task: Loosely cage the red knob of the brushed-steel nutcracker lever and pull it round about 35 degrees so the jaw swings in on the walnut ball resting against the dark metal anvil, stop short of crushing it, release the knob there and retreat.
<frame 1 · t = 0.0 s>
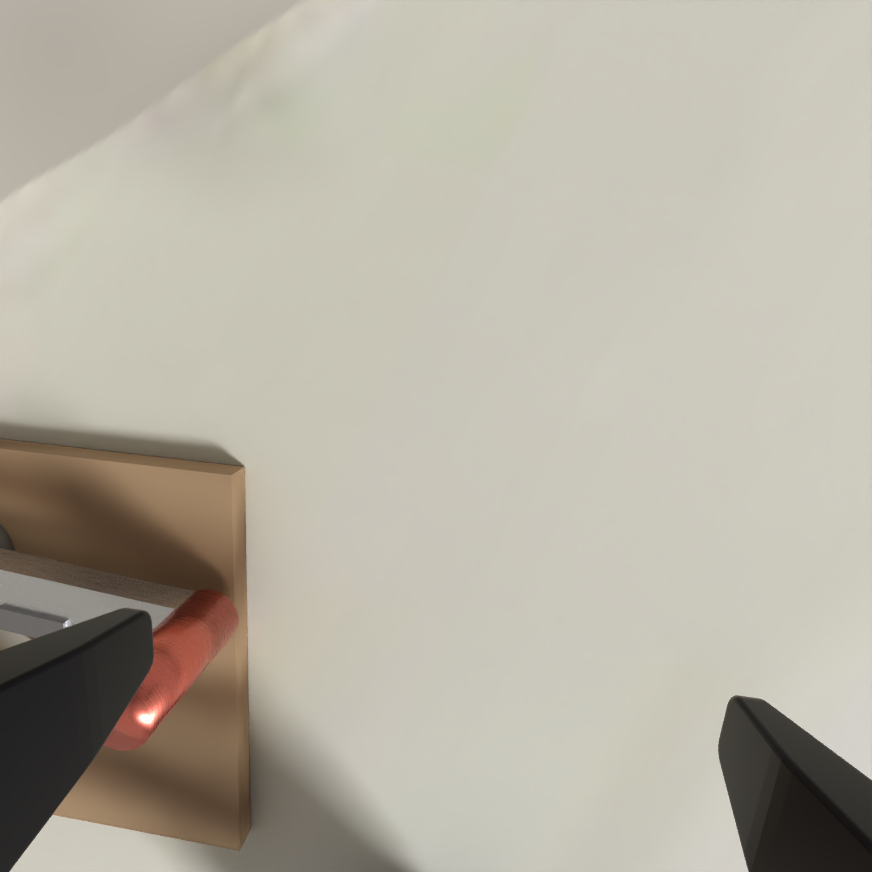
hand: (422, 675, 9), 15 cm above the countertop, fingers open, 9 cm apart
lever: (20, 624, 22), point 5 cm above the countertop, hinge at 0.0°
cracker base: (84, 639, 28), on the countertop
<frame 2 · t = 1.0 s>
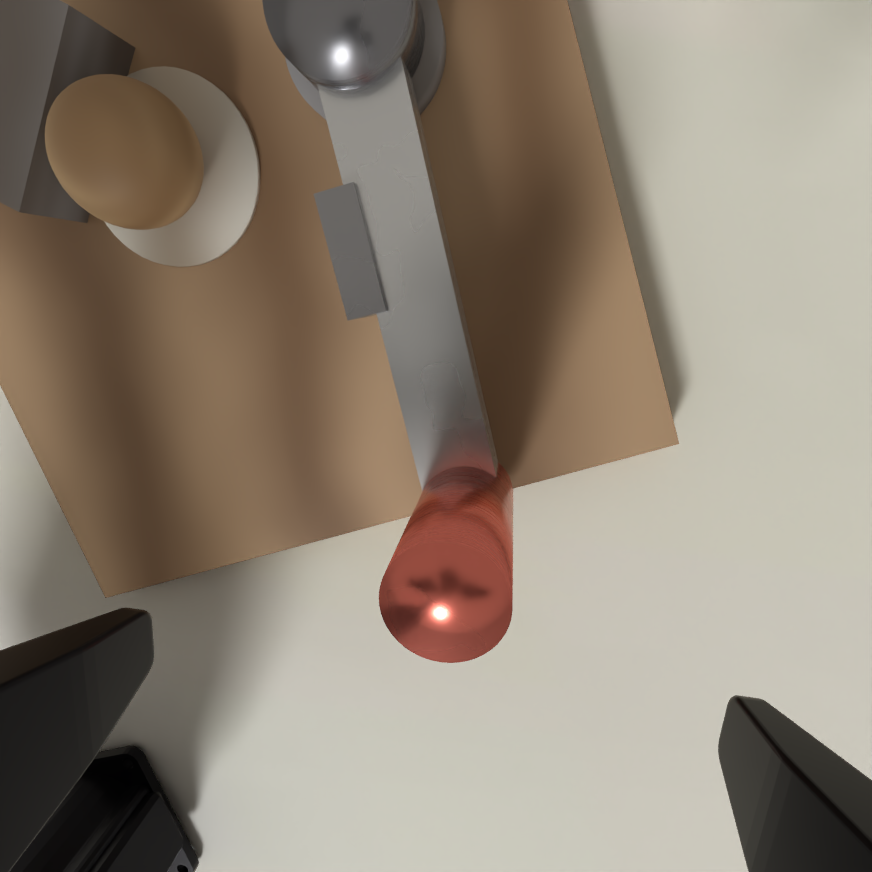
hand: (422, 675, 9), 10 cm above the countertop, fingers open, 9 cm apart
lever: (393, 274, 12), point 5 cm above the countertop, hinge at 0.0°
cracker base: (276, 270, 18), on the countertop
walnut: (128, 156, 14), point 3 cm above the countertop, touching cracker base
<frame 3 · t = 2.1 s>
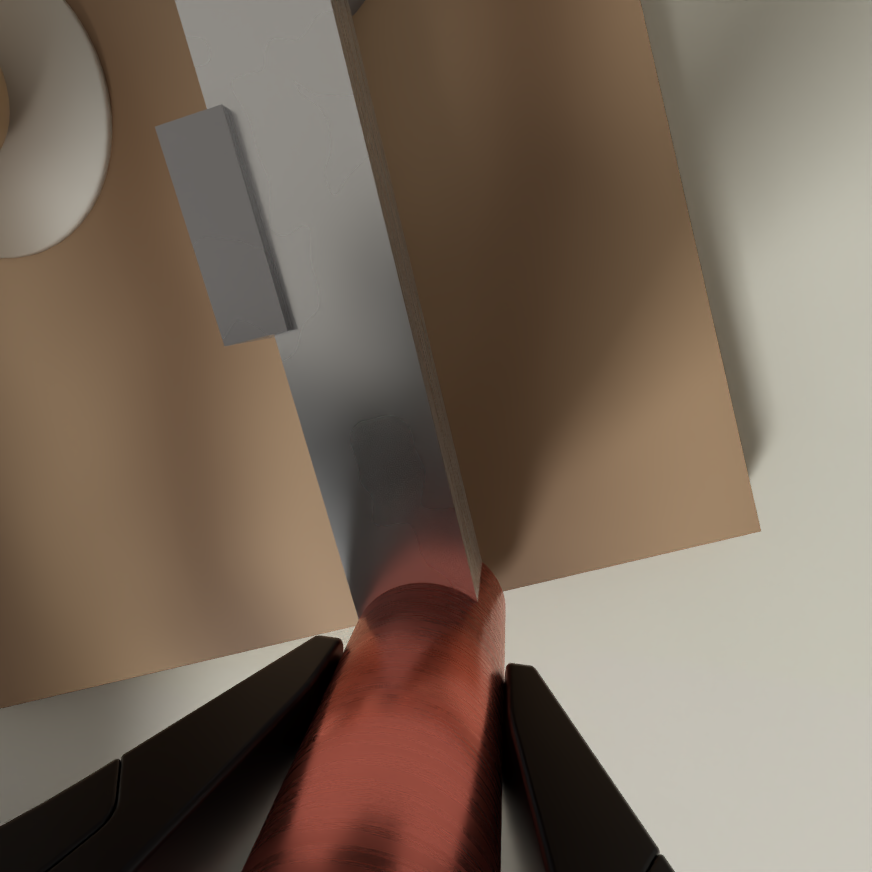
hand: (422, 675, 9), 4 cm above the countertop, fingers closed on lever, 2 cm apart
lever: (279, 267, 6), point 5 cm above the countertop, hinge at 0.0°, touching gripper
cracker base: (158, 264, 12), on the countertop
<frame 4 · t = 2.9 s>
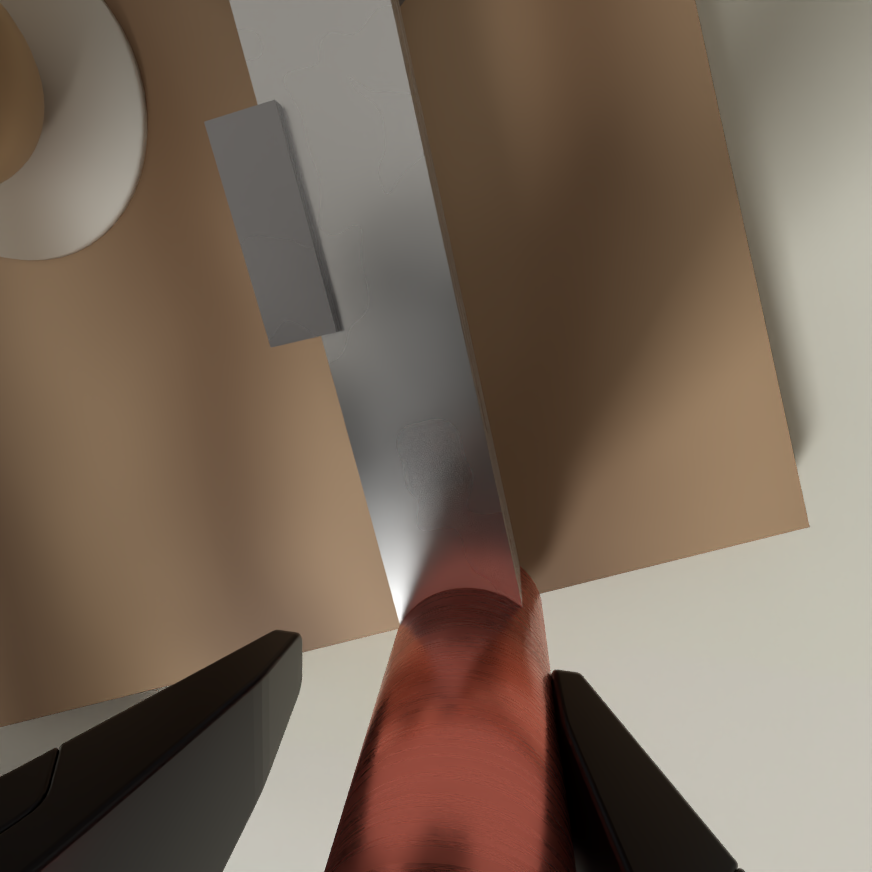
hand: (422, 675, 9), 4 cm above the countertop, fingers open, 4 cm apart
lever: (342, 268, 6), point 5 cm above the countertop, hinge at 1.1°, touching gripper
cracker base: (189, 265, 12), on the countertop
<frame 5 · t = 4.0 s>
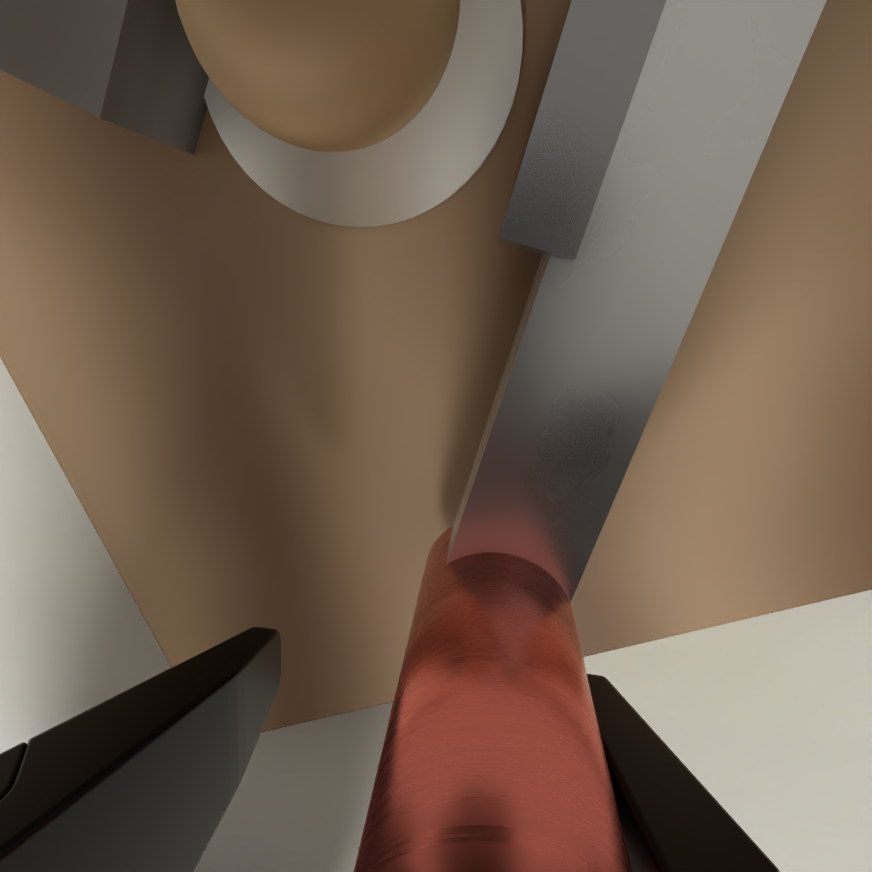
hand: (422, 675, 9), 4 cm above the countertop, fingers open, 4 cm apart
lever: (679, 208, 6), point 5 cm above the countertop, hinge at 31.5°, touching gripper
cracker base: (505, 232, 11), on the countertop
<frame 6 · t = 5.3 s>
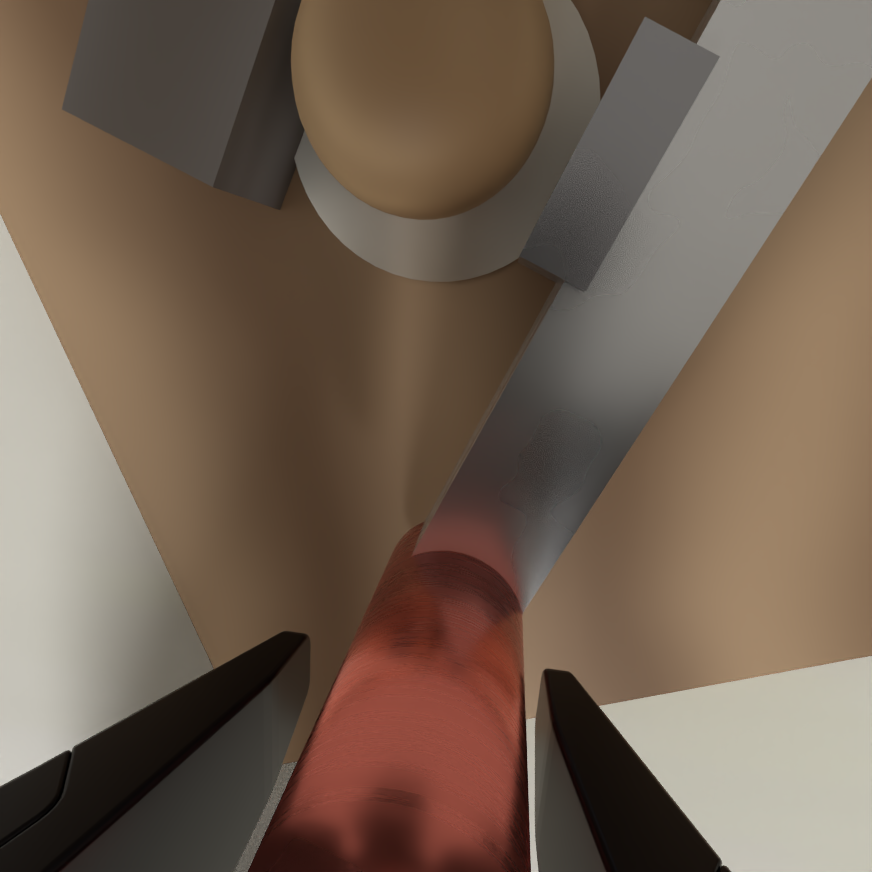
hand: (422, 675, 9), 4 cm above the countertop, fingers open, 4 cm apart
lever: (688, 262, 6), point 5 cm above the countertop, hinge at 40.7°
cracker base: (568, 286, 11), on the countertop
walnut: (423, 82, 8), point 3 cm above the countertop, touching cracker base
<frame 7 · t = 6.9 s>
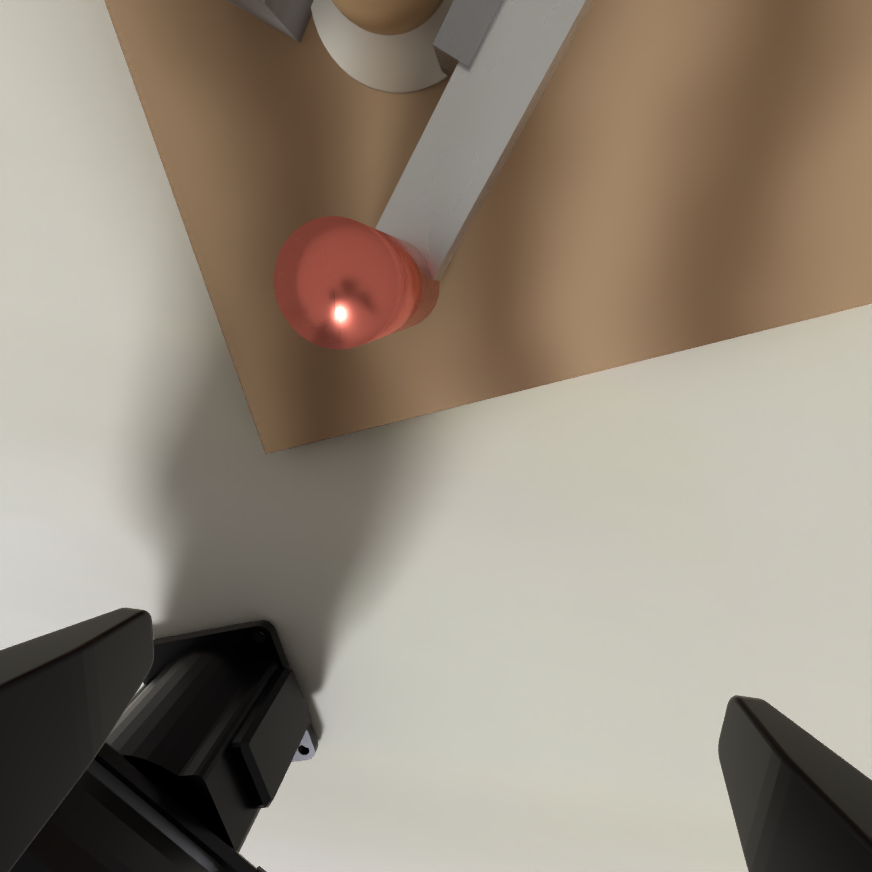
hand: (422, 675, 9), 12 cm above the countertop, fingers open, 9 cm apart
lever: (504, 27, 12), point 5 cm above the countertop, hinge at 40.7°
cracker base: (482, 110, 17), on the countertop
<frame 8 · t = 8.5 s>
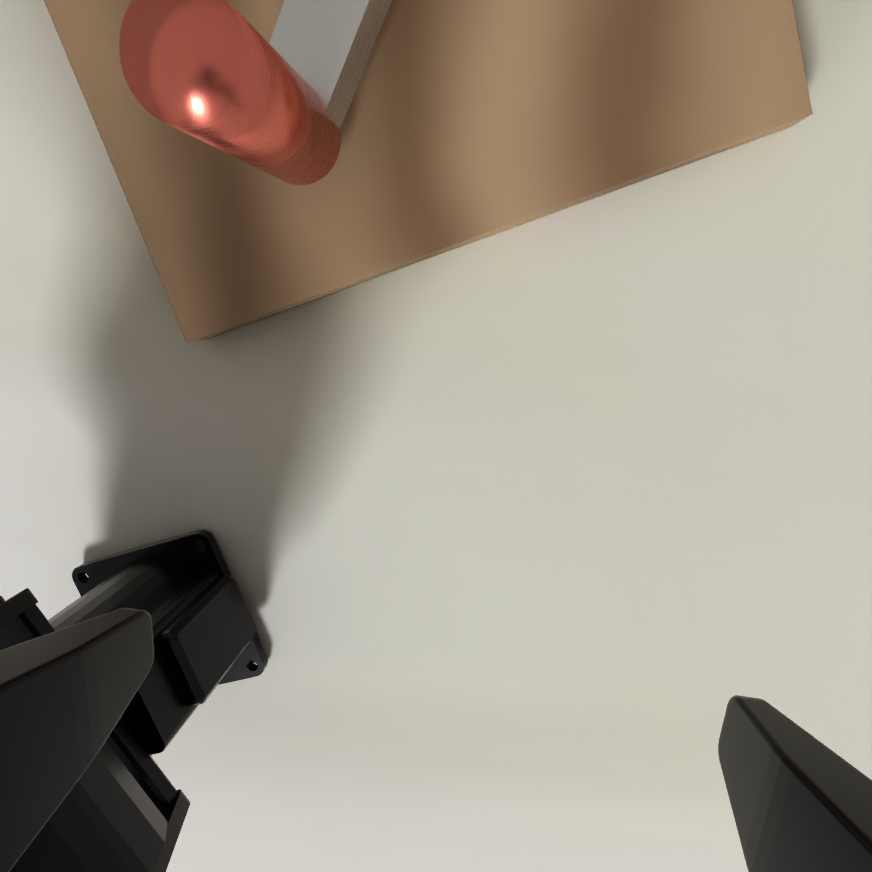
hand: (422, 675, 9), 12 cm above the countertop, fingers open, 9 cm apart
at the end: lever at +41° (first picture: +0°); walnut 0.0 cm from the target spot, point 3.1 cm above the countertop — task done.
